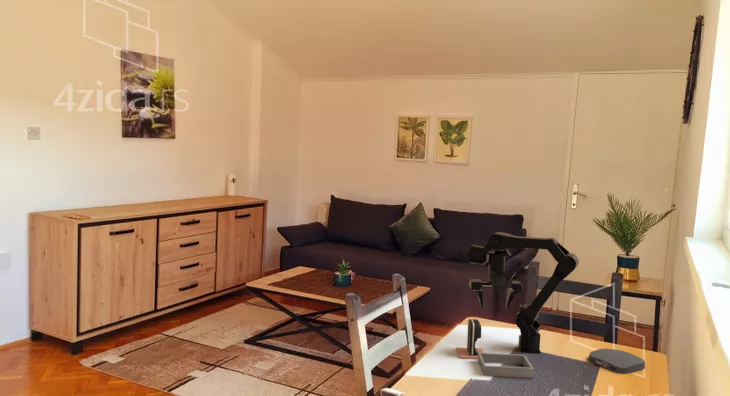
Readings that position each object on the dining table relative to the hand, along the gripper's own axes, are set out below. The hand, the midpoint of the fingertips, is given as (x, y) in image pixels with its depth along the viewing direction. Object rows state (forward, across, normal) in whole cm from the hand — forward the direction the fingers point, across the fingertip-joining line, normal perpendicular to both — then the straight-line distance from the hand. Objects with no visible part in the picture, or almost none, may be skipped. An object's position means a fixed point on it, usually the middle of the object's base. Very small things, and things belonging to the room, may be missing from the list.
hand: (494, 308), depth 198 cm
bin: (+13, -1, -25) cm, 28 cm away
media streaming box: (+14, +39, -15) cm, 44 cm away
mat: (+13, -10, -13) cm, 21 cm away
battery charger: (+13, -9, -13) cm, 20 cm away
